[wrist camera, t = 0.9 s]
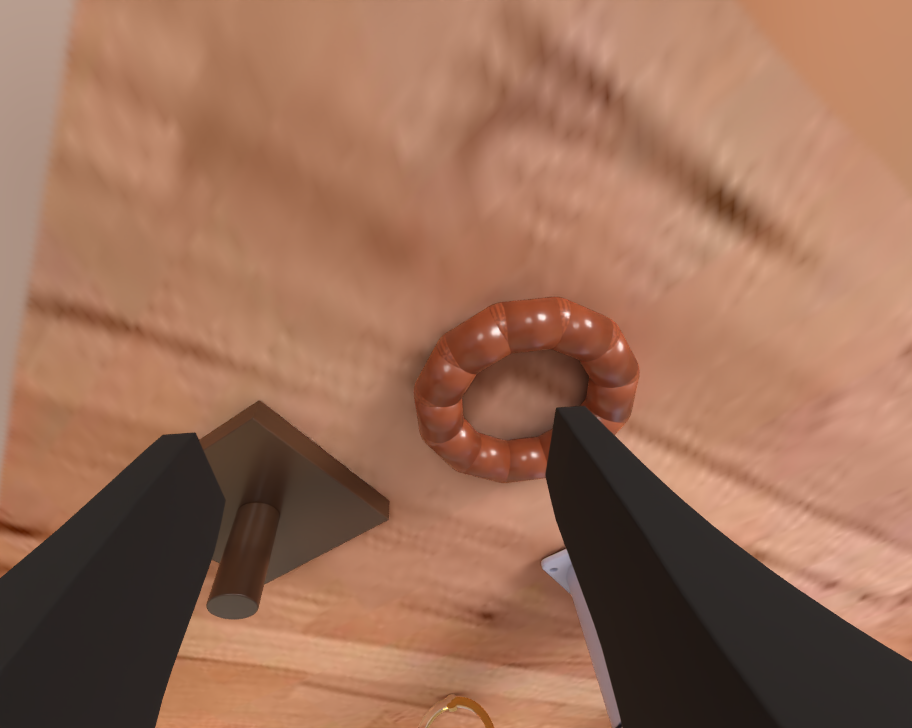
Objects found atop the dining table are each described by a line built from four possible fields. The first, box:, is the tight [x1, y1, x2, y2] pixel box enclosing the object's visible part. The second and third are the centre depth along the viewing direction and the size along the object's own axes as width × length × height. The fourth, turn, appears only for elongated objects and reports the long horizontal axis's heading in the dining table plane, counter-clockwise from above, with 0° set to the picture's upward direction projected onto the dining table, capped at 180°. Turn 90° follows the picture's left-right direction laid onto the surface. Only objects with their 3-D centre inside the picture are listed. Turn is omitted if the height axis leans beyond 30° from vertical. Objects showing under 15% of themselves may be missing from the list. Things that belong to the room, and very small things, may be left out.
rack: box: [199, 401, 389, 619], centre depth 22 cm, size 9×9×6 cm
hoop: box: [414, 297, 639, 483], centre depth 21 cm, size 10×10×2 cm
